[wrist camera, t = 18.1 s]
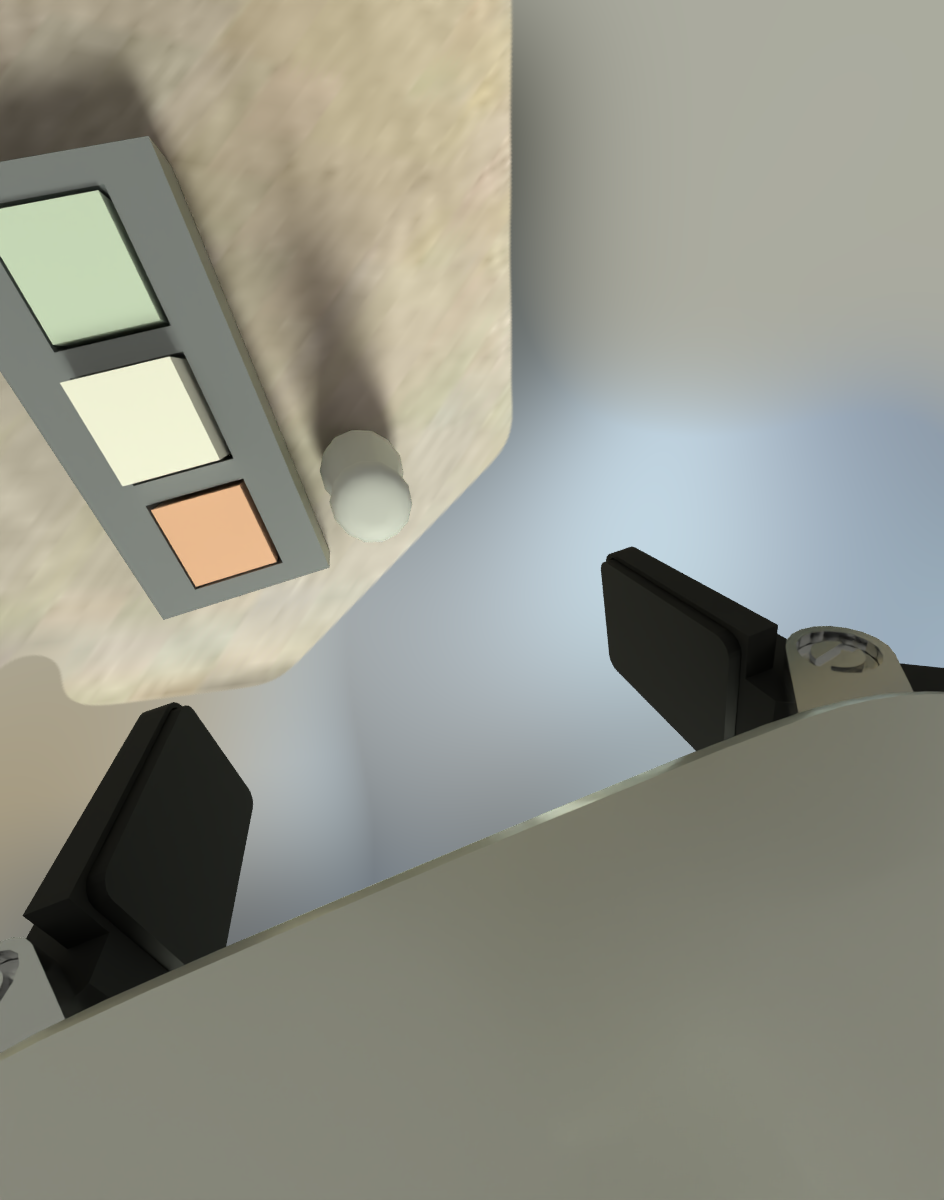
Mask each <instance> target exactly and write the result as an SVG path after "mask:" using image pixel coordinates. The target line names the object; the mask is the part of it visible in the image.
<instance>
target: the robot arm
mask: <svg viewBox="0 0 944 1200" xmlns="http://www.w3.org/2000/svg"><path fill="white" fill-rule="evenodd" d="M601 575H602V585H603V596H604V606H605V616H606V626H607V636H608V647H609V655H610V660H611V662H612V664H613V666H614V668H615V669H616V670H617V671H618V672H619V673H620V674H621V675H622V676H623V677H624V678H625V679H626V680H627V681H628V682H629V683H630V684H631V685H632V686H633V687H634V688H635V689H636V690H637V691H638V693H639V694H641V696H642V697H643V698H645V700H647V702H648V703H649V704H650V705H651V706H652V707H653V708H654V709H655V710H656V711H657V712H658V713H659V714H660V715H661V716H662V717H663V718H664V719H666V721H667V722H668V723H669V724H670V725H671V726H672V727H673V728H674V729H675V730H676V731H677V732H678V733H679V734H680V735H681V736H682V737H683V738H684V739H685V740H686V741H687V742H688V743H689V744H690V745H691V746H692V747H693V748H694V749H695V750H696V752H693V753H691V754H688V755H686V756H683V757H680V758H678V759H676V760H673V761H671V762H669V763H666V764H663V765H661V766H659V767H656V768H654V769H651V770H649V771H647V772H644V773H641V774H639V775H637V776H634V777H632V778H629V779H627V780H624V781H622V782H620V783H617V784H615V785H612V786H610V787H607V788H605V789H602V790H600V791H598V792H595V793H593V794H590V795H588V796H585V797H583V798H581V799H578V800H576V801H573V802H571V803H568V804H566V805H563V806H561V807H558V808H556V809H554V810H551V811H549V812H546V813H544V814H542V815H539V816H537V817H535V818H532V819H530V820H527V821H525V822H522V823H520V824H518V825H515V826H513V827H510V828H508V829H505V830H503V831H501V832H498V833H496V834H493V835H491V836H489V837H486V838H484V839H481V840H479V841H477V842H474V843H472V844H469V845H467V846H465V847H462V848H460V849H457V850H455V851H453V852H450V853H448V854H445V855H443V856H441V857H438V858H436V859H433V860H431V861H429V862H426V863H424V864H421V865H419V866H417V867H414V868H412V869H409V870H407V871H405V872H402V873H400V874H397V875H395V876H393V877H390V878H388V879H385V880H383V881H381V882H378V883H376V884H374V885H372V886H369V887H366V888H364V889H362V890H360V891H357V892H355V893H352V894H350V895H348V896H345V897H343V898H340V899H338V900H336V901H334V902H331V903H329V904H327V905H324V906H322V907H319V908H317V909H315V910H312V911H310V912H308V913H305V914H303V915H300V916H298V917H296V918H293V919H291V920H288V921H286V922H284V923H281V924H279V925H277V926H274V927H272V928H269V929H267V930H265V931H262V932H260V933H258V934H255V935H253V936H251V937H248V938H246V939H243V940H241V941H239V942H236V943H234V944H232V945H229V946H227V947H226V943H227V938H228V933H229V928H230V923H231V917H232V912H233V907H234V902H235V897H236V892H237V886H238V881H239V876H240V871H241V866H242V861H243V855H244V850H245V845H246V840H247V834H248V830H249V824H250V819H251V813H252V809H253V800H252V796H251V792H250V791H249V789H248V787H247V786H246V784H245V783H244V782H243V780H242V779H241V777H240V776H239V775H238V773H237V772H236V770H235V769H234V767H233V766H232V764H231V763H230V762H229V760H228V759H227V757H226V756H225V754H224V753H223V752H222V750H221V749H220V747H219V746H218V745H217V743H216V741H215V740H214V739H213V737H212V736H211V734H210V733H209V732H208V730H207V729H206V727H205V726H204V724H203V723H202V722H201V720H200V719H199V717H198V716H197V714H196V713H195V711H194V710H193V709H192V708H191V707H190V706H183V707H182V706H181V705H180V704H178V703H175V702H173V703H170V704H167V705H164V706H161V707H158V708H155V709H152V710H149V711H146V712H144V713H142V714H141V715H140V717H139V718H138V720H137V722H136V723H135V725H134V727H133V729H132V730H131V732H130V734H129V736H128V737H127V739H126V740H125V742H124V744H123V746H122V747H121V749H120V751H119V752H118V754H117V756H116V757H115V759H114V761H113V763H112V764H111V766H110V768H109V769H108V771H107V773H106V775H105V776H104V778H103V780H102V781H101V783H100V785H99V786H98V788H97V790H96V792H95V793H94V795H93V797H92V799H91V800H90V802H89V803H88V805H87V807H86V809H85V811H84V812H83V814H82V816H81V817H80V819H79V821H78V822H77V824H76V826H75V827H74V829H73V831H72V833H71V834H70V836H69V838H68V839H67V841H66V843H65V844H64V846H63V848H62V850H61V851H60V853H59V855H58V856H57V858H56V860H55V861H54V863H53V865H52V867H51V868H50V870H49V872H48V873H47V875H46V877H45V879H44V880H43V882H42V884H41V885H40V887H39V889H38V890H37V892H36V894H35V896H34V897H33V899H32V901H31V902H30V904H29V906H28V907H27V909H26V911H25V913H24V914H23V916H24V917H25V918H26V919H28V920H29V921H30V922H32V923H33V924H34V925H33V927H32V929H31V931H30V933H29V934H28V936H27V938H15V937H13V938H10V939H7V940H4V941H0V1200H944V668H938V667H929V666H919V665H909V664H900V663H899V661H898V659H897V657H896V655H895V653H894V652H893V651H892V650H891V648H890V647H889V646H888V645H886V644H885V643H883V642H882V641H880V640H879V639H877V638H875V637H873V636H871V635H868V634H866V633H863V632H860V631H856V630H852V629H848V628H842V627H833V626H822V627H821V626H818V627H810V628H805V629H801V630H799V631H797V632H795V633H793V634H792V635H791V636H790V637H789V638H788V639H786V638H784V637H782V636H780V635H778V634H777V629H778V625H777V624H775V623H773V622H771V621H770V620H768V619H766V618H764V617H762V616H760V615H758V614H756V613H754V612H753V611H751V610H749V609H747V608H746V607H744V606H742V605H740V604H738V603H736V602H735V601H732V600H731V599H729V598H727V597H725V596H723V595H722V594H720V593H718V592H716V591H714V590H712V589H711V588H709V587H707V586H705V585H703V584H701V583H700V582H698V581H696V580H694V579H692V578H690V577H688V576H687V575H684V574H683V573H681V572H679V571H677V570H676V569H674V568H672V567H670V566H668V565H666V564H664V563H663V562H661V561H659V560H657V559H655V558H653V557H651V556H650V555H648V554H646V553H644V552H642V551H640V550H639V549H637V548H635V547H629V548H626V549H623V550H620V551H617V552H614V553H611V554H609V555H608V556H607V559H606V562H604V563H602V565H601Z"/></svg>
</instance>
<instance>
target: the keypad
mask: <svg viewBox="0 0 944 1200" xmlns="http://www.w3.org/2000/svg"><path fill="white" fill-rule="evenodd" d="M97 190H99V191H100V192H101V193H102V194H104V195H105V196H106V197H107V198H108V199H110V200H111V201H112V202H113V204H114V206H115V208H116V210H117V212H118V214H119V217H120V219H121V221H122V223H123V225H124V227H125V229H126V231H127V233H128V236H129V238H130V240H131V242H132V244H133V246H134V248H135V250H136V253H137V255H138V257H139V259H140V261H141V263H142V265H143V267H144V270H145V272H146V274H147V276H148V278H149V280H150V282H151V284H152V286H153V289H154V291H155V293H156V295H157V297H158V299H159V301H160V303H161V306H162V308H163V310H164V312H165V314H166V316H167V318H168V320H169V323H170V325H171V326H167V327H163V328H159V329H154V330H150V331H146V332H141V333H137V334H133V335H128V336H124V337H120V338H115V339H111V340H107V341H102V342H98V343H94V344H89V345H85V346H81V347H76V348H73V347H66V346H59V345H53V344H52V342H51V341H50V339H49V337H48V336H47V334H46V332H45V330H44V329H43V327H42V325H41V324H40V322H39V320H38V319H37V317H36V315H35V314H34V312H33V310H32V308H31V307H30V305H29V303H28V302H27V300H26V298H25V297H24V295H23V293H22V292H21V290H20V288H19V286H18V285H17V283H16V281H15V280H14V278H13V276H12V275H11V273H10V271H9V270H8V268H7V266H6V264H5V263H4V261H3V259H2V258H1V256H0V372H1V373H2V375H3V376H4V378H5V379H6V381H7V382H8V384H9V385H10V387H11V388H12V390H13V391H14V393H15V394H16V396H17V397H18V399H19V400H20V402H21V403H22V405H23V407H24V408H25V410H26V411H27V413H28V414H29V416H30V417H31V419H32V420H33V422H34V423H35V425H36V426H37V428H38V429H39V431H40V432H41V434H42V435H43V437H44V439H45V440H46V442H47V443H48V445H49V446H50V448H51V449H52V451H53V452H54V454H55V455H56V457H57V458H58V460H59V461H60V463H61V464H62V466H63V467H64V469H65V471H66V472H67V474H68V475H69V477H70V478H71V480H72V481H73V483H74V484H75V486H76V487H77V489H78V490H79V492H80V493H81V495H82V496H83V498H84V499H85V501H86V503H87V504H88V506H89V507H90V509H91V510H92V512H93V513H94V515H95V516H96V518H97V519H98V521H99V522H100V524H101V525H102V527H103V528H104V530H105V531H106V533H107V535H108V536H109V538H110V539H111V541H112V542H113V544H114V545H115V547H116V548H117V550H118V551H119V553H120V554H121V556H122V557H123V559H124V560H125V562H126V563H127V565H128V567H129V568H130V570H131V571H132V573H133V574H134V576H135V577H136V579H137V580H138V582H139V583H140V585H141V586H142V588H143V589H144V591H145V592H146V594H147V595H148V597H149V599H150V600H151V602H152V603H153V605H154V606H155V608H156V609H157V611H158V612H159V614H160V615H161V617H162V618H163V620H165V619H168V618H171V617H174V616H177V615H180V614H184V613H187V612H190V611H193V610H196V609H199V608H203V607H206V606H209V605H212V604H215V603H218V602H222V601H225V600H228V599H231V598H234V597H238V596H241V595H244V594H247V593H250V592H253V591H257V590H260V589H263V588H266V587H269V586H272V585H276V584H279V583H282V582H285V581H288V580H291V579H295V578H298V577H301V576H304V575H307V574H310V573H314V572H317V571H320V570H323V569H326V568H329V566H330V551H329V549H328V546H327V544H326V541H325V539H324V536H323V534H322V531H321V529H320V527H319V524H318V522H317V519H316V517H315V514H314V512H313V510H312V507H311V505H310V502H309V500H308V497H307V495H306V493H305V490H304V488H303V485H302V483H301V480H300V478H299V476H298V473H297V471H296V468H295V466H294V463H293V461H292V459H291V456H290V454H289V451H288V449H287V446H286V444H285V441H284V439H283V437H282V434H281V432H280V429H279V427H278V424H277V422H276V420H275V417H274V415H273V412H272V410H271V407H270V405H269V403H268V400H267V398H266V395H265V393H264V390H263V388H262V386H261V383H260V381H259V378H258V376H257V373H256V371H255V369H254V366H253V364H252V361H251V359H250V356H249V354H248V352H247V349H246V347H245V344H244V342H243V339H242V337H241V334H240V332H239V330H238V327H237V325H236V322H235V320H234V317H233V315H232V313H231V310H230V308H229V305H228V303H227V300H226V298H225V296H224V293H223V291H222V288H221V286H220V283H219V281H218V279H217V276H216V274H215V271H214V269H213V266H212V264H211V262H210V259H209V257H208V254H207V252H206V249H205V247H204V244H203V242H202V240H201V237H200V235H199V232H198V230H197V227H196V225H195V223H194V220H193V218H192V215H191V213H190V210H189V208H188V206H187V203H186V201H185V198H184V196H183V193H182V191H181V189H180V186H179V184H178V181H177V179H176V176H175V174H174V172H173V169H172V167H171V165H170V164H169V163H168V161H167V160H166V159H165V157H164V156H163V155H162V153H161V152H160V151H159V149H158V148H157V147H156V145H155V144H154V142H153V141H152V140H151V138H150V137H149V136H145V137H139V138H133V139H127V140H122V141H116V142H110V143H105V144H99V145H93V146H88V147H82V148H76V149H70V150H65V151H59V152H53V153H48V154H42V155H36V156H31V157H25V158H19V159H13V160H8V161H2V162H0V209H1V208H6V207H12V206H17V205H22V204H28V203H33V202H38V201H44V200H49V199H54V198H60V197H65V196H70V195H75V194H81V193H86V192H91V191H97ZM169 356H170V357H176V358H181V359H184V358H186V359H187V361H188V363H189V365H190V367H191V369H192V371H193V373H194V376H195V378H196V380H197V382H198V384H199V386H200V388H201V390H202V392H203V395H204V397H205V399H206V401H207V403H208V405H209V407H210V409H211V412H212V414H213V416H214V418H215V420H216V422H217V424H218V426H219V428H220V431H221V433H222V435H223V437H224V439H225V441H226V443H227V445H228V448H229V450H230V452H231V454H232V455H229V456H225V457H223V458H222V459H220V460H218V461H214V462H210V463H207V464H203V465H199V466H196V467H192V468H188V469H185V470H181V471H177V472H174V473H170V474H166V475H163V476H159V477H155V478H152V479H148V480H145V481H141V482H137V483H134V484H130V485H126V486H122V485H121V483H120V481H119V480H118V478H117V476H116V475H115V473H114V471H113V470H112V468H111V466H110V465H109V463H108V461H107V460H106V458H105V457H104V455H103V453H102V452H101V450H100V448H99V447H98V445H97V443H96V442H95V440H94V438H93V437H92V435H91V433H90V432H89V430H88V428H87V427H86V425H85V424H84V422H83V420H82V419H81V417H80V415H79V414H78V412H77V410H76V409H75V407H74V405H73V404H72V402H71V400H70V399H69V397H68V395H67V394H66V392H65V391H64V389H63V387H62V386H61V384H60V383H61V382H65V381H69V380H74V379H78V378H82V377H86V376H90V375H94V374H99V373H103V372H107V371H111V370H115V369H119V368H124V367H128V366H132V365H136V364H140V363H144V362H149V361H153V360H157V359H161V358H165V357H169ZM240 479H244V481H245V484H246V486H247V488H248V490H249V492H250V494H251V496H252V498H253V501H254V503H255V505H256V507H257V509H258V511H259V513H260V515H261V518H262V520H263V522H264V524H265V526H266V528H267V530H268V532H269V534H270V537H271V539H272V541H273V543H274V545H275V547H276V549H277V551H278V554H279V555H278V558H277V562H275V563H271V564H268V565H265V566H262V567H258V568H255V569H252V570H249V571H245V572H242V573H239V574H236V575H232V576H229V577H226V578H223V579H219V580H216V581H213V582H210V583H206V584H203V585H200V586H197V587H196V586H195V584H194V583H193V581H192V579H191V577H190V576H189V574H188V572H187V571H186V569H185V567H184V566H183V564H182V562H181V561H180V559H179V557H178V555H177V554H176V552H175V550H174V549H173V547H172V545H171V544H170V542H169V540H168V539H167V537H166V535H165V533H164V532H163V530H162V528H161V527H160V525H159V523H158V522H157V520H156V518H155V517H154V515H153V513H152V511H151V510H152V509H154V508H155V507H157V506H158V505H159V504H161V503H162V502H164V501H165V500H169V499H172V498H176V497H179V496H183V495H186V494H190V493H193V492H197V491H201V490H204V489H208V488H211V487H215V486H218V485H222V484H225V483H229V482H233V481H236V480H240Z"/></svg>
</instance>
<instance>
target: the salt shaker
mask: <svg viewBox="0 0 944 1200" xmlns="http://www.w3.org/2000/svg"><path fill="white" fill-rule="evenodd" d="M320 473H321V476H322V480H323V483H324V486H325V490H326V491H327V492H328V493H329V494H330V495H331V498H330V505H331V508H332V511H333V514H334V518H335V520H336V521H337V522H338V524H339V525H340V526H341V527H342V528H343V529H344V530H345V531H346V533H347V534H348V535H350V536H352V537H354V538H357V539H359V540H361V541H364V542H383V541H385V540H387V539H389V538H391V537H393V536H395V535H397V534H398V533H399V532H400V531H401V529H402V528H403V527H404V526H405V525H406V524H407V522H408V519H409V515H410V511H411V506H412V501H411V496H410V491H409V486H408V484H407V483H406V482H405V481H404V479H403V469H402V464H401V459H400V455H399V454H398V452H397V451H396V450H395V448H394V447H393V446H392V445H391V443H390V442H389V441H388V440H387V439H385V438H383V437H382V436H380V435H378V434H376V433H375V432H373V431H368V430H351V431H348V432H346V433H344V434H341V435H339V436H337V437H335V438H334V439H333V440H332V442H331V443H330V444H329V446H328V447H327V448H326V450H325V451H324V452H323V457H322V462H321V468H320Z"/></svg>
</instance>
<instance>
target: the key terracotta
mask: <svg viewBox="0 0 944 1200" xmlns="http://www.w3.org/2000/svg"><path fill="white" fill-rule="evenodd" d="M151 511H152V513H153V515H154V517H155V518H156V520H157V522H158V523H159V525H160V527H161V528H162V530H163V532H164V533H165V535H166V537H167V539H168V540H169V542H170V544H171V545H172V547H173V549H174V550H175V552H176V554H177V555H178V557H179V559H180V561H181V562H182V564H183V566H184V567H185V569H186V571H187V572H188V574H189V576H190V577H191V579H192V581H193V583H194V584H195V586H196V587H197V586H200V585H203V584H206V583H210V582H213V581H216V580H219V579H223V578H226V577H229V576H232V575H236V574H239V573H242V572H245V571H249V570H252V569H255V568H258V567H262V566H265V565H268V564H271V563H275V562H277V558H278V555H279V554H278V551H277V549H276V547H275V545H274V543H273V541H272V539H271V537H270V534H269V532H268V530H267V528H266V526H265V524H264V522H263V520H262V518H261V515H260V513H259V511H258V509H257V507H256V505H255V503H254V501H253V498H252V496H251V494H250V492H249V490H248V488H247V486H246V484H245V481H244V479H240V480H236V481H233V482H229V483H225V484H222V485H218V486H215V487H211V488H208V489H204V490H201V491H197V492H193V493H190V494H186V495H183V496H179V497H176V498H172V499H169V500H165V501H164V502H162V503H161V504H159V505H158V506H157V507H155V508H154V509H152V510H151Z"/></svg>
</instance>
